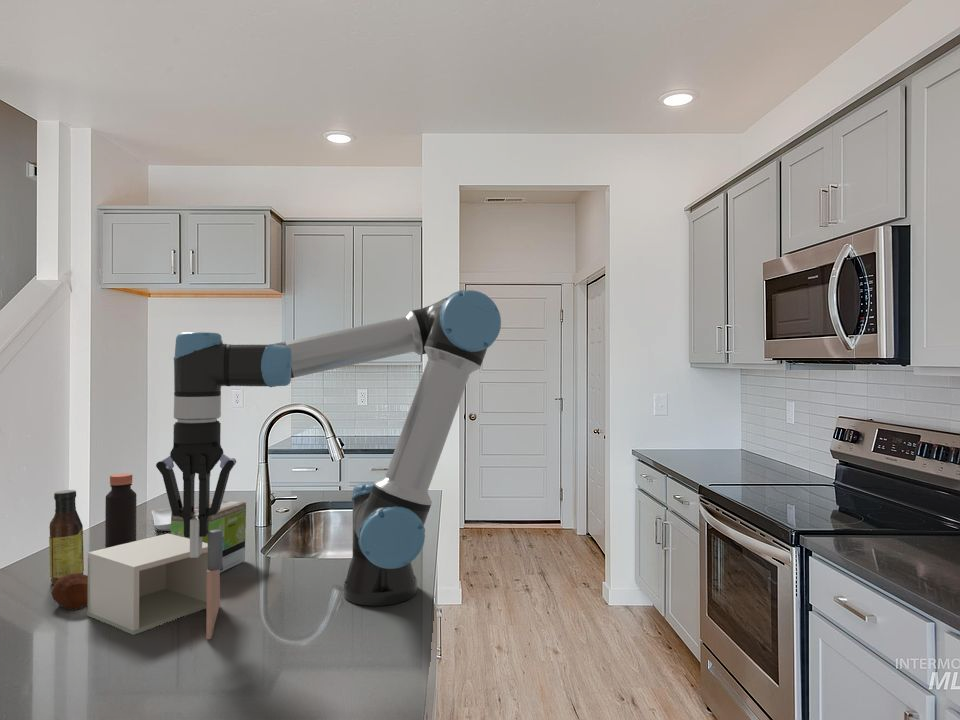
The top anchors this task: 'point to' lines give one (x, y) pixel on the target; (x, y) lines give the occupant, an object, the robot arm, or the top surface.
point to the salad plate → (162, 519)
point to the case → (146, 582)
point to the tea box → (232, 527)
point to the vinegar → (120, 511)
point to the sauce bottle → (65, 537)
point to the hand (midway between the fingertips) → (195, 555)
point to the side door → (213, 579)
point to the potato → (71, 591)
